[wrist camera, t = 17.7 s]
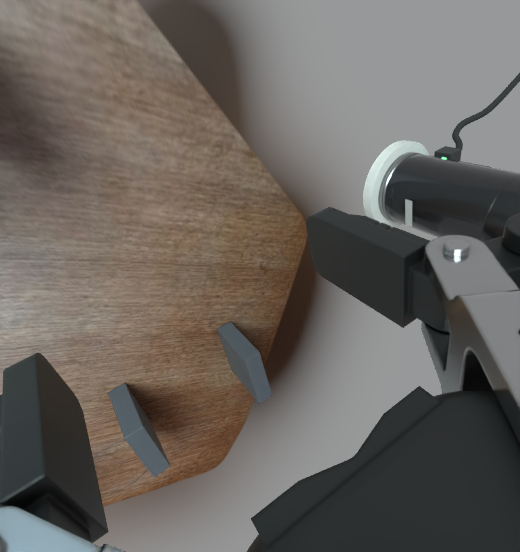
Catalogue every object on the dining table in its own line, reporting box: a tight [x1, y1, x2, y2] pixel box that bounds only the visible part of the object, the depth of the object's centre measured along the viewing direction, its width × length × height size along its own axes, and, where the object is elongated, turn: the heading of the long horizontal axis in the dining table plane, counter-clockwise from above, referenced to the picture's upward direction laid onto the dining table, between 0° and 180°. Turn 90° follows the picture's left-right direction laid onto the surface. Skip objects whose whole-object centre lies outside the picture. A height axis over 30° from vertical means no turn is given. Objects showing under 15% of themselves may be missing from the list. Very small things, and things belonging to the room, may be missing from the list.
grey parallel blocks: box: [108, 322, 272, 477], centre depth 43 cm, size 16×8×7 cm, turn 103°
